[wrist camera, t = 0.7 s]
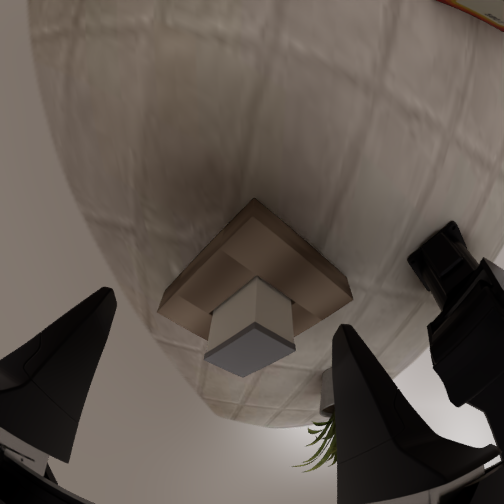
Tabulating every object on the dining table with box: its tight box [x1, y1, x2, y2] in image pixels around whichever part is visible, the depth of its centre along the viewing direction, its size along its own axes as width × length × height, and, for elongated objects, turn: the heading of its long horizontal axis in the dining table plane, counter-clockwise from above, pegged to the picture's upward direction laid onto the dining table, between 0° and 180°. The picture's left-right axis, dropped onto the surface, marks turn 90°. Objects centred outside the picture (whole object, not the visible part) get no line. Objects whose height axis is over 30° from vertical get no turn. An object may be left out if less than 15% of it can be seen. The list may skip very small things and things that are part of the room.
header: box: [157, 198, 353, 341], centre depth 25 cm, size 12×14×3 cm
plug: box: [204, 275, 296, 377], centre depth 23 cm, size 4×6×7 cm
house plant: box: [295, 368, 337, 472], centre depth 30 cm, size 14×14×16 cm
